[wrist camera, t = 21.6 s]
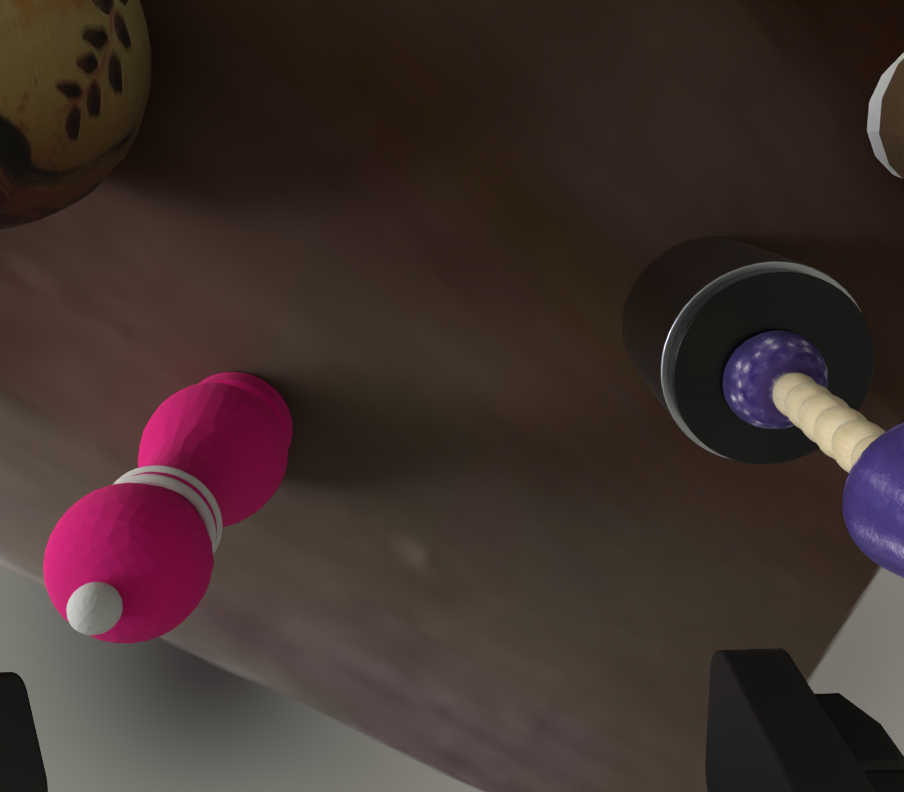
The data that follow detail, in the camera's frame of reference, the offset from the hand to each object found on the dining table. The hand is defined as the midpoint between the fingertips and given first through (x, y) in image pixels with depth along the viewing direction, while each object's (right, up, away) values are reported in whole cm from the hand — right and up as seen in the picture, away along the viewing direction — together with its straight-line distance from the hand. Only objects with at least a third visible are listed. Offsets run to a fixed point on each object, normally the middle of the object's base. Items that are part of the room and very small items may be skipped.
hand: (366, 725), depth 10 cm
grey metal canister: (+15, +8, +35) cm, 39 cm away
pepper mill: (-11, +2, +37) cm, 39 cm away
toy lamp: (+14, +5, +26) cm, 30 cm away
